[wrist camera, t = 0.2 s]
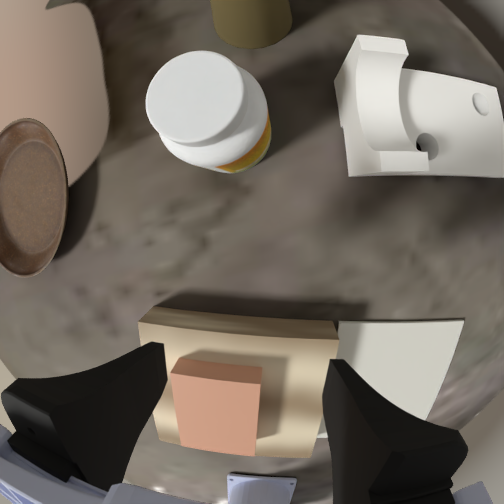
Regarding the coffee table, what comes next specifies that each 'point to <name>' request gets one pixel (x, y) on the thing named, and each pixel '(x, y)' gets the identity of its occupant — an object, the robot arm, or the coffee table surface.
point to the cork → (251, 21)
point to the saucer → (31, 197)
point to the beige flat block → (258, 355)
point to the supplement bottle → (209, 112)
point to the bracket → (415, 117)
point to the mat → (400, 359)
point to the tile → (217, 405)
